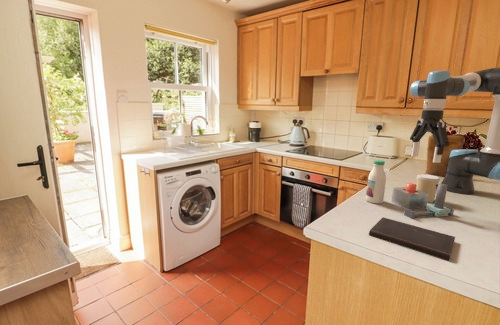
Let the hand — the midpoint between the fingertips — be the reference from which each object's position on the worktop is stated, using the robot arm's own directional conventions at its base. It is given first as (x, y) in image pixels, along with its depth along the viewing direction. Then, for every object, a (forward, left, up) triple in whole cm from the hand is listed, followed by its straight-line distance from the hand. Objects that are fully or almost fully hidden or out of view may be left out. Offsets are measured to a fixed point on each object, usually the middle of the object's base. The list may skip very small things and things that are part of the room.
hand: (424, 159), depth 115 cm
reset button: (+1, -4, -18) cm, 19 cm away
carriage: (-2, +8, -23) cm, 24 cm away
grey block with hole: (+1, -4, -23) cm, 23 cm away
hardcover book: (+26, +24, -23) cm, 43 cm away
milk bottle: (+14, -11, -23) cm, 29 cm away
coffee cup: (-13, -9, -23) cm, 28 cm away
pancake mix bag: (-65, -48, -23) cm, 84 cm away
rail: (+2, +8, -23) cm, 24 cm away
